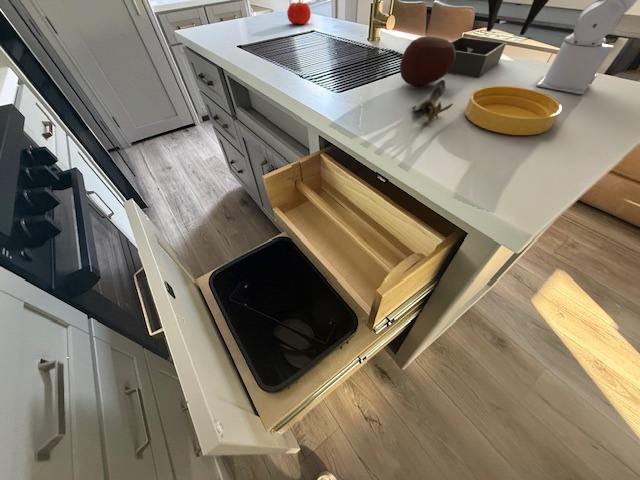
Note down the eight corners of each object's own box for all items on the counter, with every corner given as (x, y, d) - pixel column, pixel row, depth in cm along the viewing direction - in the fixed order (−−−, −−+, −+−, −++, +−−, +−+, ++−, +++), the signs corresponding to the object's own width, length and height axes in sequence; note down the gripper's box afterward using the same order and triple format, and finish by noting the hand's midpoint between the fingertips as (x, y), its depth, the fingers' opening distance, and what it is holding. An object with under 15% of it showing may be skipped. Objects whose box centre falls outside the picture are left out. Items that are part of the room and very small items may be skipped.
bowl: (559, 115, 56) (570, 97, 53) (537, 146, 48) (549, 127, 46) (481, 97, 63) (487, 80, 61) (451, 121, 56) (457, 104, 53)
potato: (455, 89, 67) (471, 39, 59) (406, 96, 65) (416, 44, 58) (434, 75, 74) (445, 28, 66) (389, 80, 73) (395, 33, 65)
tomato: (286, 22, 130) (284, 2, 125) (308, 20, 132) (307, 0, 126) (290, 27, 123) (288, 5, 118) (313, 24, 125) (312, 3, 119)
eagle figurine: (458, 120, 53) (450, 94, 58) (448, 90, 49) (441, 65, 53) (419, 137, 57) (415, 112, 62) (407, 112, 53) (403, 86, 57)
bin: (498, 63, 79) (506, 42, 75) (478, 77, 72) (486, 56, 68) (454, 56, 85) (460, 36, 81) (432, 68, 78) (437, 48, 74)
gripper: (493, -48, 57) (469, 32, 67) (573, -49, 50) (533, 39, 60) (504, -50, 60) (480, 26, 70) (581, -51, 54) (541, 33, 64)
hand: (505, 32), depth 66 cm, fingers open, 7 cm apart
